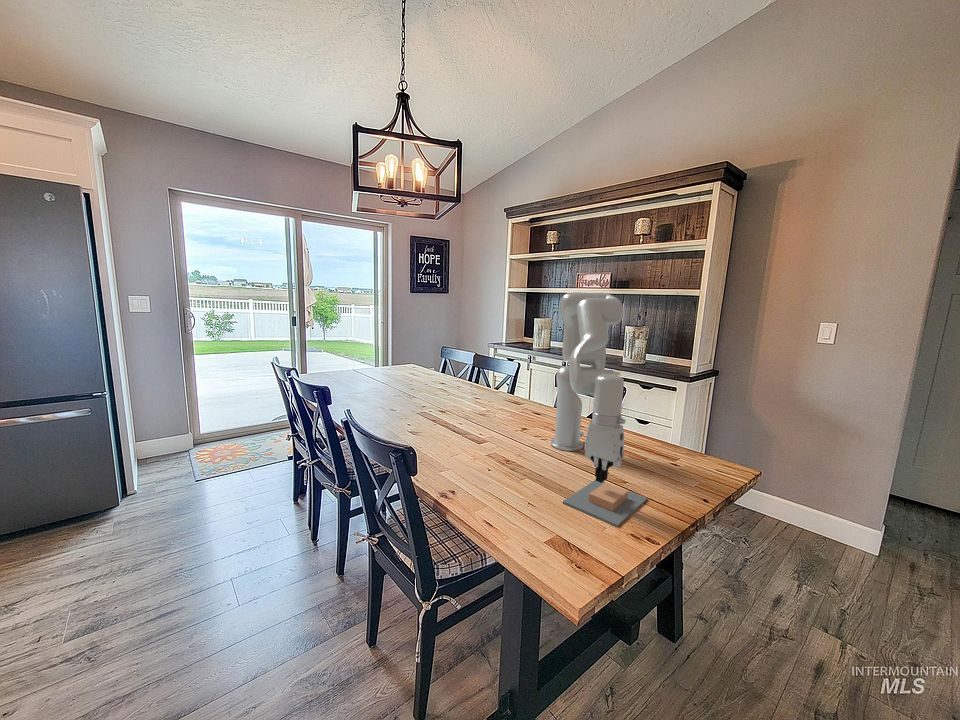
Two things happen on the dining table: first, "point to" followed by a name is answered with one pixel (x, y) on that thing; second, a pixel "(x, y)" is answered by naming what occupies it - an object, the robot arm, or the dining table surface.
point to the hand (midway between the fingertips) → (600, 480)
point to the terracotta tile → (608, 496)
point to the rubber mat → (612, 517)
